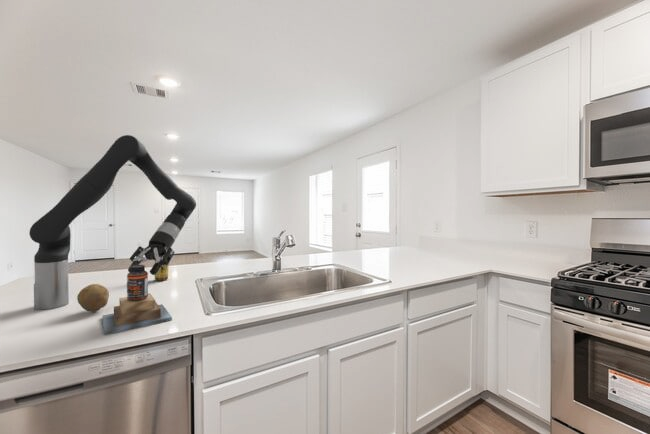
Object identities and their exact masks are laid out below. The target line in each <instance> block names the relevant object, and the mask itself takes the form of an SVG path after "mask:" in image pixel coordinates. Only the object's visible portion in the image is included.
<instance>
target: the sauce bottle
mask: <svg viewBox="0 0 650 434" xmlns="http://www.w3.org/2000/svg"><path fill="white" fill-rule="evenodd" d="M163 257H164V255H163ZM166 260H167V259H166ZM155 263H157V262H156V260H154V264H155ZM169 266H170V263H169V264H168V265H163V266H161V267H160V269H159V270H158V272H157V273H156V274H155V275H154V281H156V282H163V281H167V280H168V279H169Z"/></svg>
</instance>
